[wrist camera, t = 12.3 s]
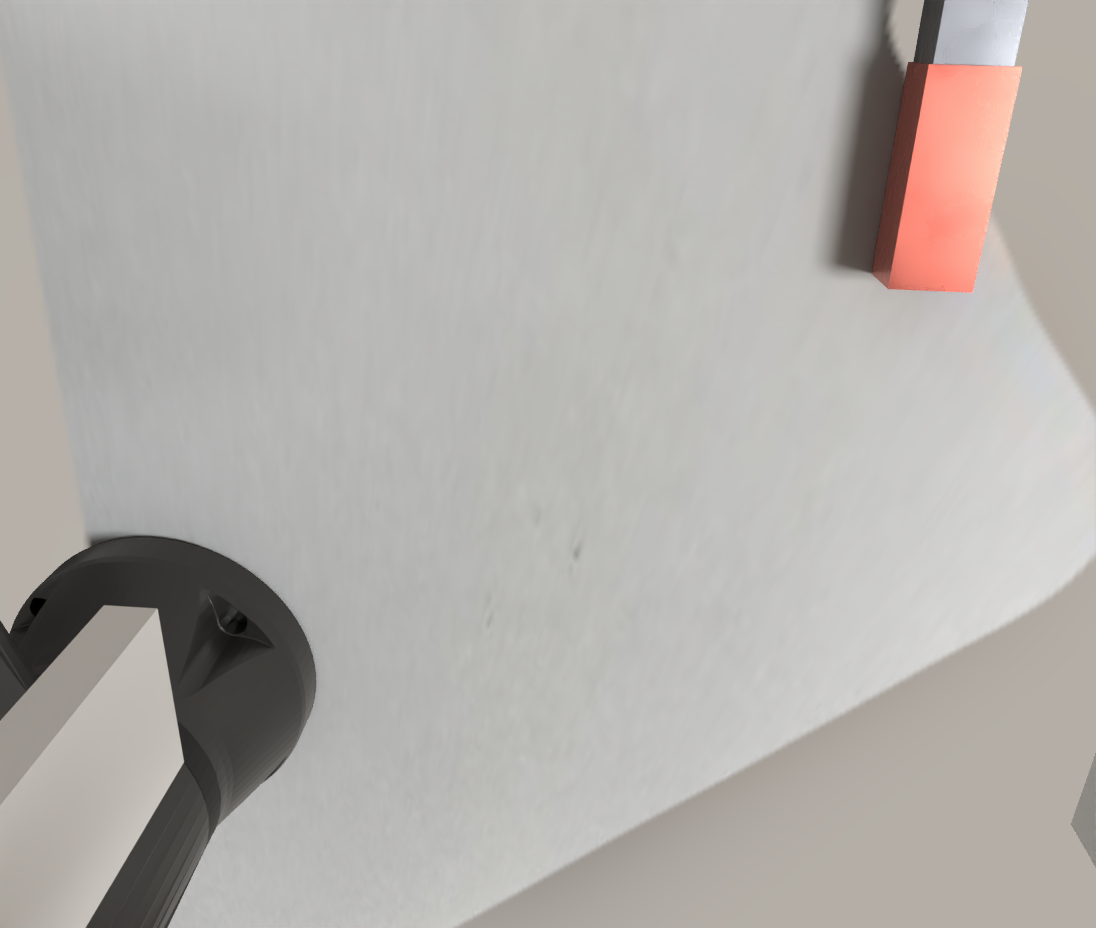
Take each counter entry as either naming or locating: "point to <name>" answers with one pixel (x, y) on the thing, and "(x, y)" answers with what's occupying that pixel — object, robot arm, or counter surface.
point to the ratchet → (949, 144)
